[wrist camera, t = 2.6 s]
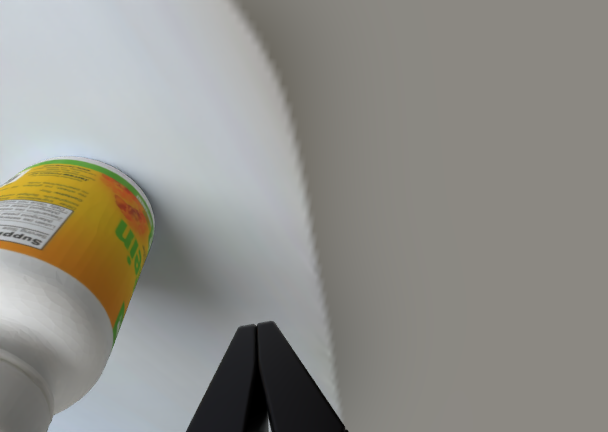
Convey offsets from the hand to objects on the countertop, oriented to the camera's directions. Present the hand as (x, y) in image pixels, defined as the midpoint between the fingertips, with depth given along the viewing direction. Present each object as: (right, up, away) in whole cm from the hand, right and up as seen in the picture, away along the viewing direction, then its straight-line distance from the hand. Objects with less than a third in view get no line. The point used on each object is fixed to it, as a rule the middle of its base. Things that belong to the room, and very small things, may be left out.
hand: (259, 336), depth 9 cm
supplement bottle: (-8, +3, +6) cm, 11 cm away
